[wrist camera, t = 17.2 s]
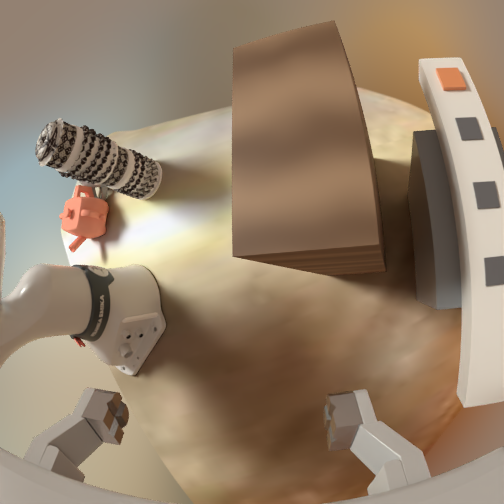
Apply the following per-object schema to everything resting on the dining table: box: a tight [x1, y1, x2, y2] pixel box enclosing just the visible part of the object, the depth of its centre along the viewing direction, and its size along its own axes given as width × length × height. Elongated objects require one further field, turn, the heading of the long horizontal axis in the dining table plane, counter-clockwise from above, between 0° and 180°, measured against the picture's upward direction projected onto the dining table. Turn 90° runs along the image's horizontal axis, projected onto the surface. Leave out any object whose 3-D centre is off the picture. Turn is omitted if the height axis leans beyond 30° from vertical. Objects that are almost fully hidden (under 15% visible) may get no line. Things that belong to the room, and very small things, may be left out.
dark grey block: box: [407, 127, 504, 310], centre depth 26 cm, size 14×8×18 cm, turn 1°
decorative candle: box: [35, 118, 163, 200], centre depth 47 cm, size 9×9×25 cm
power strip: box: [419, 58, 504, 408], centre depth 16 cm, size 26×4×3 cm, turn 1°
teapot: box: [59, 185, 109, 252], centre depth 60 cm, size 12×12×10 cm
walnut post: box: [232, 21, 386, 276], centre depth 28 cm, size 16×8×26 cm, turn 1°
